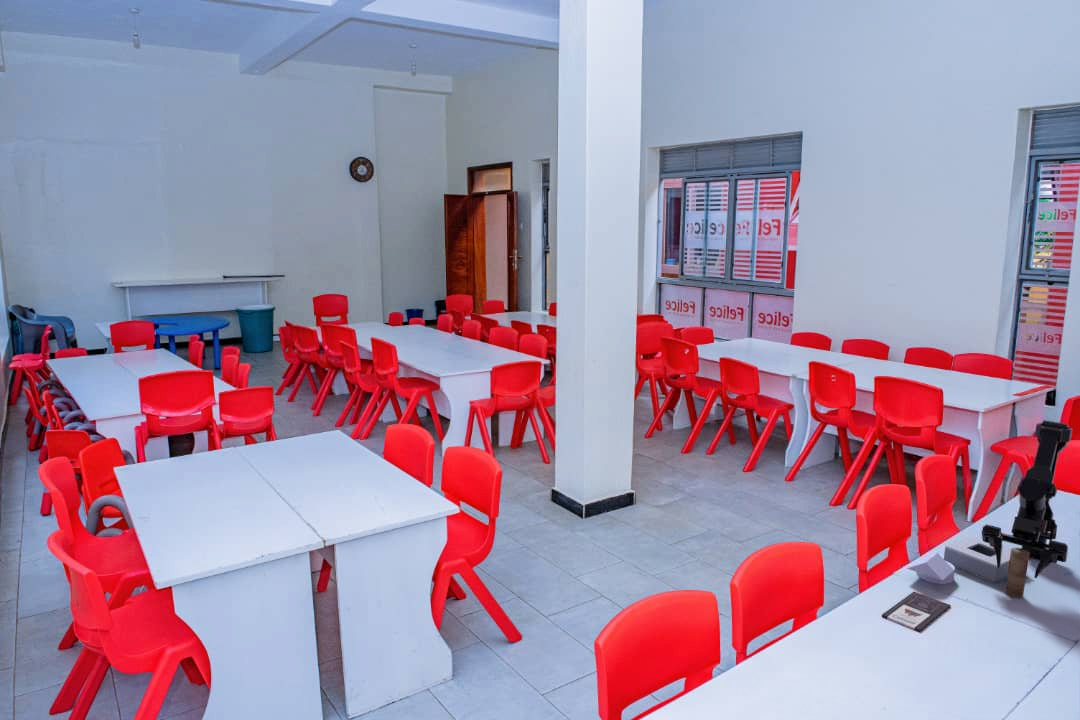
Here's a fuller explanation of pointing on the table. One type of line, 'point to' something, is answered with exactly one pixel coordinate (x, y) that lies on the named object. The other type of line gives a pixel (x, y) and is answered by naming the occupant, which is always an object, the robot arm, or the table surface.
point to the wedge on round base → (934, 569)
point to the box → (978, 558)
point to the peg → (1017, 573)
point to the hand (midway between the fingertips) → (1016, 572)
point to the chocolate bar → (916, 611)
